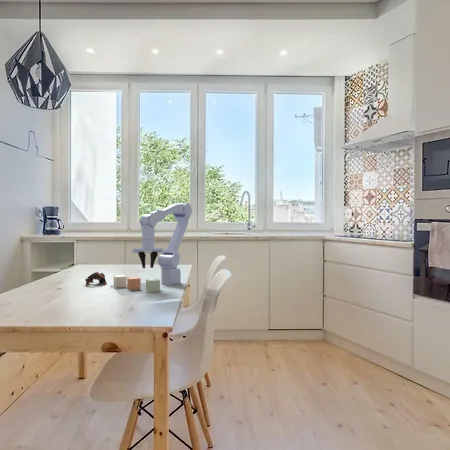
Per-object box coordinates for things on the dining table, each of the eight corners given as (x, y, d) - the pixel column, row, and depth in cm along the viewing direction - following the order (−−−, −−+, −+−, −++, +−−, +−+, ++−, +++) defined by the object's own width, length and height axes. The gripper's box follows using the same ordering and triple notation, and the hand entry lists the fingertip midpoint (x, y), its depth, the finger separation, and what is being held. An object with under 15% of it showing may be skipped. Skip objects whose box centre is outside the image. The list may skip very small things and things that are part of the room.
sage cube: (156, 289, 175) (156, 278, 175) (159, 291, 171) (160, 280, 171) (146, 290, 173) (146, 279, 173) (149, 292, 168) (149, 281, 168)
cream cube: (124, 285, 186) (124, 274, 186) (126, 286, 182) (126, 276, 181) (113, 285, 184) (113, 275, 184) (115, 287, 179) (115, 277, 179)
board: (147, 284, 193) (147, 282, 193) (164, 293, 170) (164, 291, 170) (109, 287, 184) (109, 285, 184) (121, 297, 161) (121, 295, 161)
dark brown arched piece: (104, 289, 183) (95, 275, 181) (88, 297, 185) (79, 283, 183) (113, 279, 195) (104, 265, 193) (98, 286, 196) (89, 273, 195)
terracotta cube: (137, 287, 180) (137, 276, 180) (140, 289, 176) (140, 278, 176) (127, 288, 178) (127, 277, 178) (129, 289, 173) (129, 279, 173)
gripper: (135, 239, 172) (134, 269, 172) (165, 239, 179) (165, 268, 179) (131, 239, 179) (131, 267, 179) (160, 239, 185) (160, 266, 185)
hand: (147, 267), depth 179 cm, fingers open, 3 cm apart
